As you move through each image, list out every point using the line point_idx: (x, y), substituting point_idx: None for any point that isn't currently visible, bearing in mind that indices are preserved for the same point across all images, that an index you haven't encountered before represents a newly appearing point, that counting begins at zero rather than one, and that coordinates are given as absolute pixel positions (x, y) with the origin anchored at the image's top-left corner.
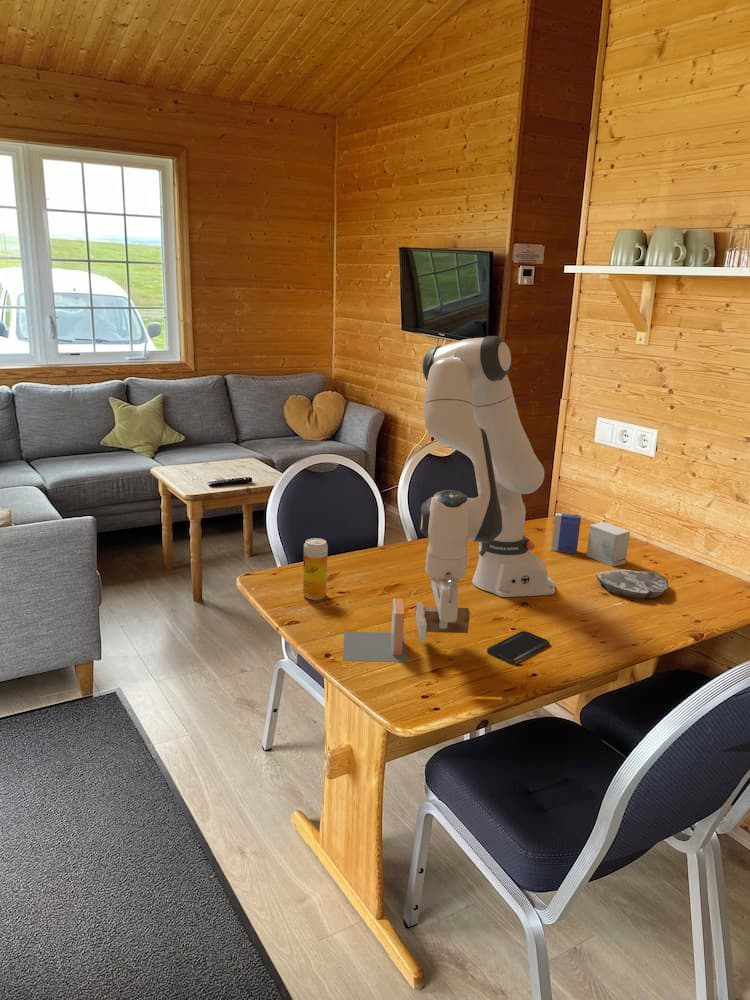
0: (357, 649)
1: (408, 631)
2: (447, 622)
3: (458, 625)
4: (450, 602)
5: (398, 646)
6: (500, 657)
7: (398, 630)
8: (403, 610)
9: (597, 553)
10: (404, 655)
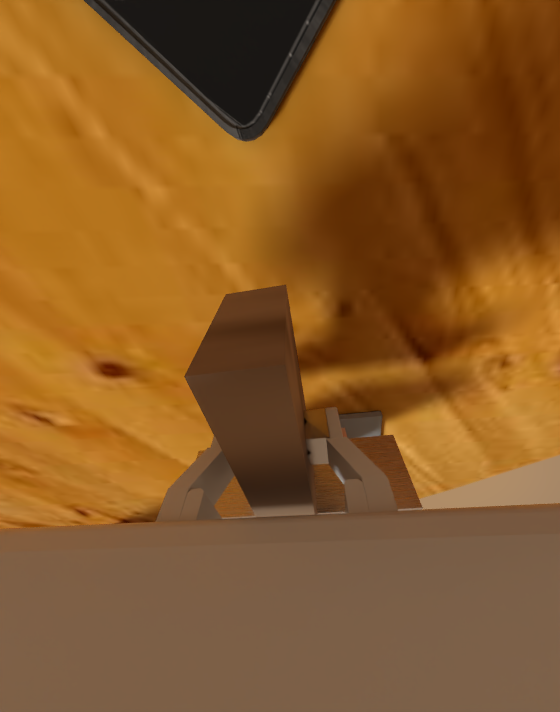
0: None
1: (191, 418)
2: (341, 430)
3: (295, 359)
4: (243, 520)
5: None
6: (317, 31)
7: None
8: None
9: None
10: (344, 423)
